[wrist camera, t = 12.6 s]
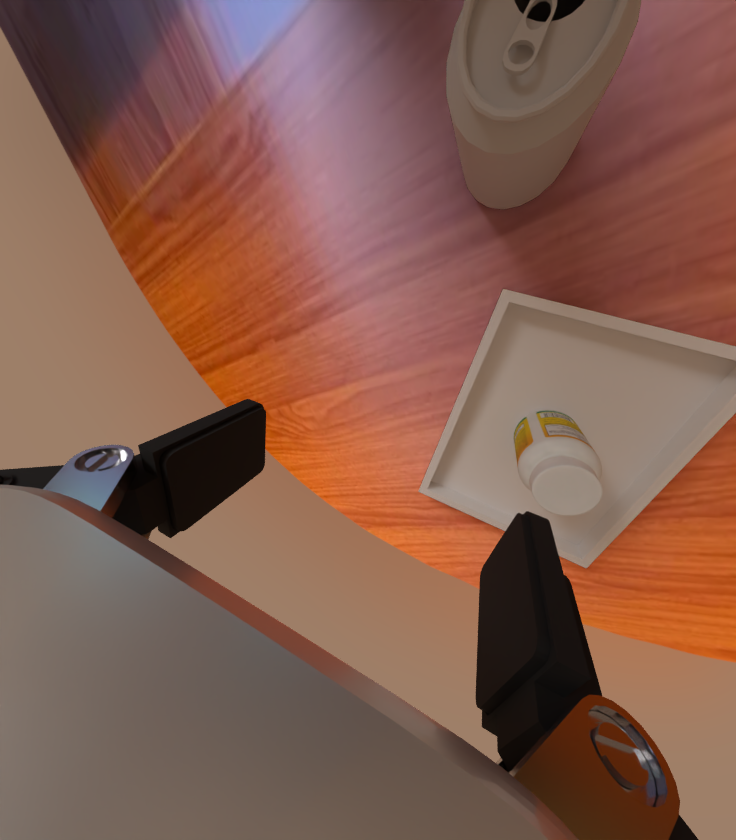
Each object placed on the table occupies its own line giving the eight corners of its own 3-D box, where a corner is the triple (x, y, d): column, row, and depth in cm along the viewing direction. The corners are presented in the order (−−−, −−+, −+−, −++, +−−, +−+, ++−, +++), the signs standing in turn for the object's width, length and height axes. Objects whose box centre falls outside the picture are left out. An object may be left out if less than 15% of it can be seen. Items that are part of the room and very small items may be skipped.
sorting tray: (502, 290, 24) (503, 288, 22) (755, 353, 20) (786, 359, 18) (422, 480, 35) (418, 491, 32) (579, 549, 30) (586, 568, 28)
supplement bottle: (560, 397, 25) (594, 443, 17) (589, 446, 26) (634, 512, 18) (502, 423, 28) (506, 472, 20) (528, 466, 28) (543, 532, 20)
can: (602, 97, 19) (739, -157, 8) (532, 226, 22) (567, 159, 12) (496, 70, 20) (501, -176, 10) (446, 195, 24) (412, 112, 13)
